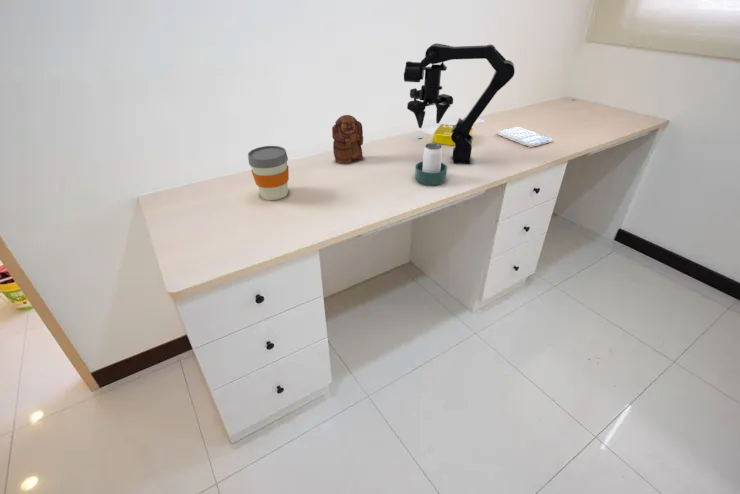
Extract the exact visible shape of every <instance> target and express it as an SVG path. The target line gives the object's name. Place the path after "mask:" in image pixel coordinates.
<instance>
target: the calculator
mask: <svg viewBox="0 0 740 494" xmlns="http://www.w3.org/2000/svg"><path fill="white" fill-rule="evenodd" d="M498 136H500V137H503V138H505V139H508V140H511V141H513V142H516V143H518V144H521V145H523V146H526V147H527V148H528V147H529V148H535V147H539V146H541V145H546V144H549V143H551V142H552V141H553V139H552V138H551V137H549V136H546V135H543V134H540V133H538V132H535V131H532V130H529V129H526V128H523V127H520V126H515V127H511V128H507V129H503V130H499V131H498Z"/></svg>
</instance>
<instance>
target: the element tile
mask: <svg viewBox="0 0 740 494" xmlns="http://www.w3.org/2000/svg"><path fill="white" fill-rule="evenodd" d="M454 125H455V124H449V123H442V124H440V125H439V126H438V127H437V129H435V131H434V133H433V143H436V144H440V145H446V146H454V147H455V143H454V142H453V141H452V138H451V135H452V133H453V132H452V129H453V126H454ZM469 134H470V135H471V136H472V137H473V127H472V128H471V130H470V133H469Z"/></svg>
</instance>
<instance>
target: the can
mask: <svg viewBox="0 0 740 494" xmlns="http://www.w3.org/2000/svg"><path fill="white" fill-rule="evenodd" d="M442 158H443V148H442V144H437V143H434V142H431V143H426V144H425V146H424V148H423V155H422V161H423V167H422V171H424V172H428V173H436V172H440V170H441V163H442Z"/></svg>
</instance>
